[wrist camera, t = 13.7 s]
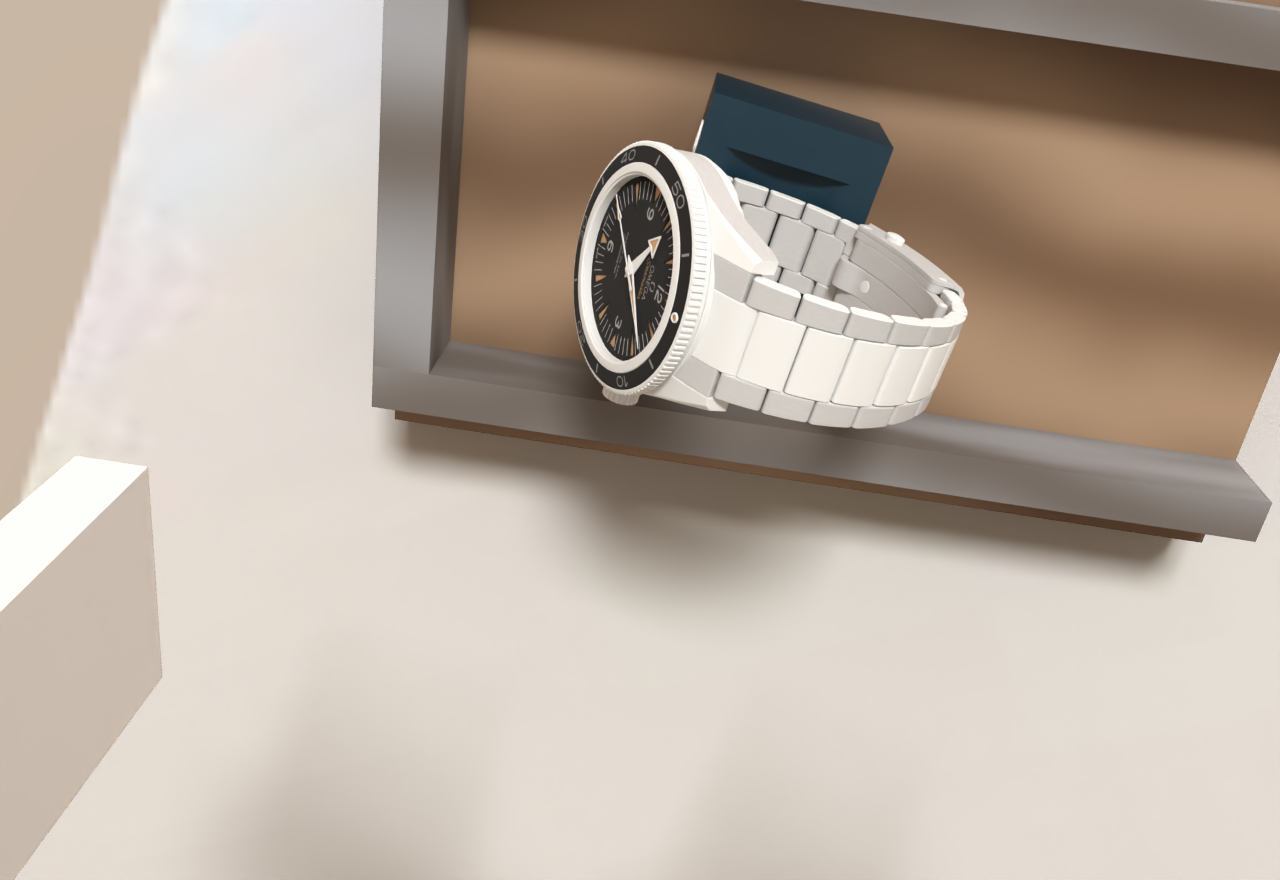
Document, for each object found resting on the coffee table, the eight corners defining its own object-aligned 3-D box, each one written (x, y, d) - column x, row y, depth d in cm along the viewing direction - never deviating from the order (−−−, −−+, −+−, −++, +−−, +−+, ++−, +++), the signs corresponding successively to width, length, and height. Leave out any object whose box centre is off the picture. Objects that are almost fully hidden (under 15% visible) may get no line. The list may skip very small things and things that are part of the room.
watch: (642, 49, 29) (591, 135, 19) (944, 142, 29) (1048, 276, 19) (585, 255, 31) (514, 427, 21) (865, 339, 32) (922, 546, 22)
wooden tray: (1184, 517, 35) (1234, 589, 31) (407, 398, 35) (370, 457, 32) (1407, -47, 28) (1506, -37, 24) (434, -190, 28) (389, -200, 25)
